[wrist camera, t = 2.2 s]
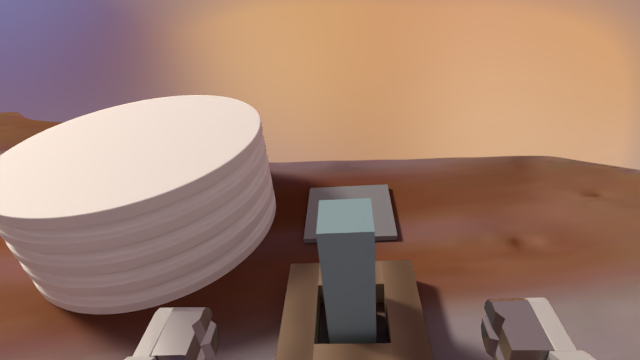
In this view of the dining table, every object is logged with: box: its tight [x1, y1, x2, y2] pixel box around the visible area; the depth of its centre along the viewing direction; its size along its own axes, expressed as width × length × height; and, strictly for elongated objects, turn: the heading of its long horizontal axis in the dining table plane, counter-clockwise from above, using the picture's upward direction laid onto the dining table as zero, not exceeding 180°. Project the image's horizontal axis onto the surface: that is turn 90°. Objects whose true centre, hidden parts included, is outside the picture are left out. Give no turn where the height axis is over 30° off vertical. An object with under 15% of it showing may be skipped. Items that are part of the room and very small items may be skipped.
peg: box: [316, 198, 376, 344], centre depth 28 cm, size 4×4×12 cm
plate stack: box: [0, 95, 276, 314], centre depth 43 cm, size 28×28×12 cm
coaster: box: [304, 184, 397, 243], centre depth 44 cm, size 10×10×1 cm
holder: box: [275, 260, 433, 360], centre depth 30 cm, size 11×11×2 cm
